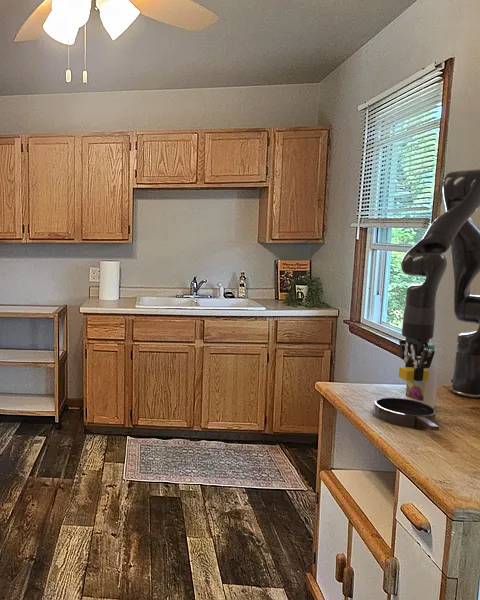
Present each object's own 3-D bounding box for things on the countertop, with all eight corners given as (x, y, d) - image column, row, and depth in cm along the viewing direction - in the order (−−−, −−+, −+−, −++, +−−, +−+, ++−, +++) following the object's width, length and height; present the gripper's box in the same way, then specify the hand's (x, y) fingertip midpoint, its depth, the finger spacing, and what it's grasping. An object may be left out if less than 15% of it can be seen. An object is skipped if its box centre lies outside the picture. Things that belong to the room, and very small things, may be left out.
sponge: (419, 376, 148) (420, 367, 147) (427, 381, 144) (428, 371, 143) (398, 376, 148) (399, 366, 148) (406, 380, 144) (407, 370, 144)
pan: (415, 408, 153) (416, 398, 153) (447, 428, 138) (448, 416, 138) (364, 407, 154) (365, 396, 154) (390, 427, 139) (391, 415, 139)
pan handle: (414, 427, 139) (416, 416, 138) (422, 428, 139) (423, 416, 138) (430, 438, 132) (431, 426, 132) (438, 438, 132) (439, 426, 131)
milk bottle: (425, 401, 159) (431, 341, 156) (440, 410, 152) (446, 346, 149) (399, 401, 160) (405, 340, 157) (413, 409, 152) (419, 346, 149)
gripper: (448, 326, 136) (442, 386, 139) (417, 316, 150) (412, 371, 153) (419, 326, 137) (413, 385, 139) (391, 316, 151) (387, 371, 153)
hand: (413, 377), depth 146 cm, fingers closed on sponge, 4 cm apart
